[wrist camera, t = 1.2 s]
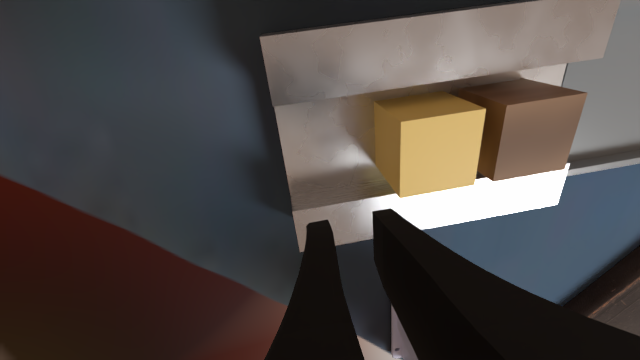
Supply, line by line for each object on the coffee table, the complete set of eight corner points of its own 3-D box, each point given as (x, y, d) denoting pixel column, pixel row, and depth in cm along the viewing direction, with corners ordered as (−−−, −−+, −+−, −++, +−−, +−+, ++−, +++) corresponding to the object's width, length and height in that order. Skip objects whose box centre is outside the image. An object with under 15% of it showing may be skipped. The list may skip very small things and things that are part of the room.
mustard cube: (437, 155, 19) (474, 185, 16) (375, 165, 19) (399, 198, 15) (442, 90, 17) (486, 108, 14) (373, 101, 17) (400, 122, 13)
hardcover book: (749, 254, 33) (780, 269, 31) (576, 374, 40) (593, 393, 38) (696, 191, 27) (730, 204, 25) (505, 344, 34) (519, 364, 32)
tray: (666, 147, 24) (688, 154, 22) (522, 172, 23) (537, 181, 22) (744, -20, 18) (778, -23, 17) (562, 4, 18) (584, 3, 16)
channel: (517, 179, 23) (557, 204, 20) (295, 218, 22) (299, 252, 19) (559, -5, 17) (623, -11, 14) (261, 33, 16) (259, 37, 13)
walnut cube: (511, 142, 20) (564, 169, 16) (452, 152, 19) (492, 182, 16) (524, 78, 18) (587, 92, 14) (458, 88, 17) (507, 105, 14)
